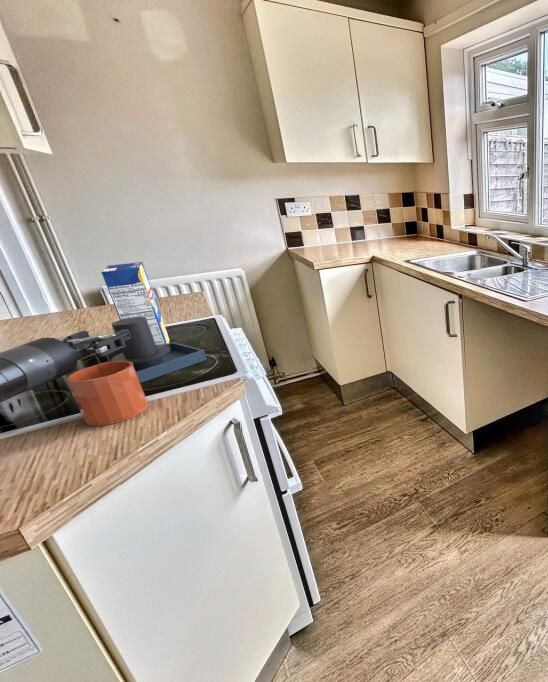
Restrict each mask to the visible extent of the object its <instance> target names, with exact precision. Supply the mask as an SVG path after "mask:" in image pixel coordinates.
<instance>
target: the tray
mask: <svg viewBox="0 0 548 682" xmlns="http://www.w3.org/2000/svg"><path fill="white" fill-rule="evenodd" d="M164 345H165V346H169V347H170V352H169V353H168V354H166V355H164V356H162V360H163V363H161V364H158V365H155V366H152V367H149V368H146V369H143V370H140V371H137V372H136V373H137V375H138V378H139V381H140V383H141V384H142V383H145V382H147V381H150V380H153V379H156V378H160V377H162V376H165V375H167V374H170V373H173V372H175V371H178V370H182V369H184V368H187V367H190V366H193V365H195V364H196V365H197V364H199V363H202V362H205V361H207V360H208V358H207V354H206V352H205V349H201V348H198V347H195V346H190V345H186V344H182V343H178V342H174V341H171V342H169V343H167V344H164ZM107 362H112V361H111V360H107V361H104V362H101V363H100V364H102V363H107ZM79 370H80V369H78V370H76V371H79Z"/></svg>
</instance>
